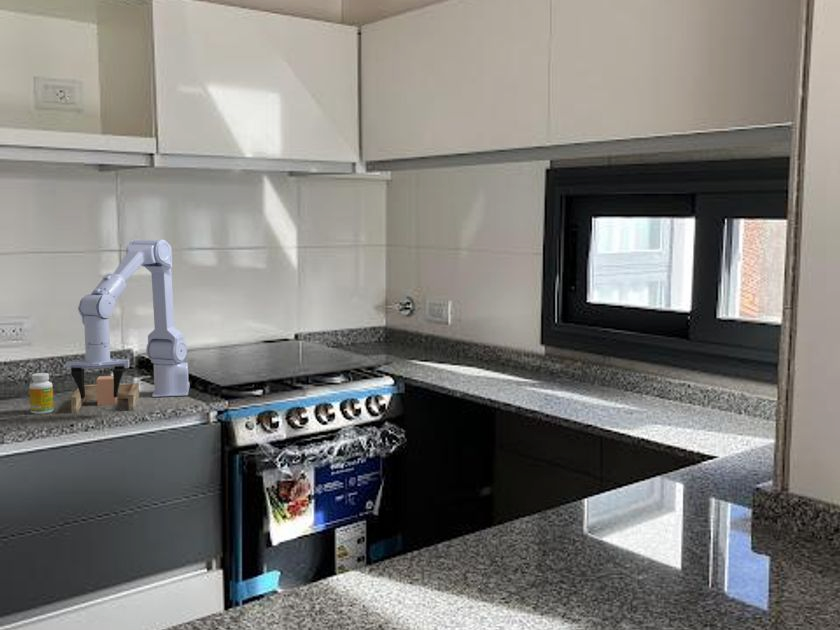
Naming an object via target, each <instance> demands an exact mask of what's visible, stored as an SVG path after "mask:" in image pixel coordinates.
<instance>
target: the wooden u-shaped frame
mask: <svg viewBox="0 0 840 630" xmlns="http://www.w3.org/2000/svg"><path fill="white" fill-rule="evenodd" d="M84 387H85V398H84V399H81V396H80V392H79V389H78V388H77V389H76V390H75V391H74V392H73V394H72V395H71V396H70V405H71V410H70V411H71V413H72V414H75V413H76V414H77V413H78V411H79V410H80V408H81V407H82V406H83V404H85V402H86V401H97V384H84ZM139 387H140V384H139V383H138V382H133V383H131V382H129V383H120V384H119V388H118V396H117V400H128V401H127V402H128V411H135V409H136V405H137V403H138V402H139V401H138V400H139V398H140V392H139V391H140V389H139ZM85 400H86V401H85ZM84 401H85V402H84Z"/></svg>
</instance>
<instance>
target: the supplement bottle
mask: <svg viewBox="0 0 840 630" xmlns="http://www.w3.org/2000/svg"><path fill="white" fill-rule="evenodd" d="M49 380H50V374H49V373H48V372H38V373H37V372H36V373H32V374H31V381H32V382H31V383H30V384H29V389H28V390H29V406H30V408H29V409H30V413H31V414H33V413H34V414H36V415H41V414H49V413H52V412H54V387H53V383H52V382H51V381H49Z"/></svg>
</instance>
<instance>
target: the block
mask: <svg viewBox="0 0 840 630" xmlns="http://www.w3.org/2000/svg"><path fill="white" fill-rule="evenodd" d="M96 385H97V400H96V401H97V403H96V404H97V406H98V405H101V406H116V405H117V403H118V399H117V397H114V379H113V375H103V376H102V375H101V376H98V377H97V378H96Z"/></svg>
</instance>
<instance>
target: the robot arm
mask: <svg viewBox="0 0 840 630" xmlns="http://www.w3.org/2000/svg"><path fill="white" fill-rule="evenodd" d="M172 251H173V250H172V246H171V245H170V244H169V243H168V242H167V240H165V239H137V238H135V239H132V240H130V242H129V244H128V245H127V246H126V247H125V252H126V253H125V256H124V257H123V258H122V260H121V261H120V263H119V264H118V266H117V268H116V269H115V271H114V272H113V273H107V274H105V275H104V276H103V277H102V280H101V281H100V282H99V284H98V285H97V286H95V288H94V289H93V291H92V292H91V293H90V294H85V295H84V296H83V297H82V298H81V299H80V301H79V305H78V306H77V311H78V313H79V315H80V317H81V323H82V324H83V325H84V349H85V350H84V351H85V359H81V360H79V359H76V360H67V361H66V364H65V365H66V366H65V367H66V370H67V371H70V375H71V377H72V378H73V380H74V381H75V384H76V386H77V389H79V392H80V396H81V399H84V398H85V387H84V385H85V370H88V369H89V370H90V369H112V376H113V379H114V397H117V396H118V388H119V384H121V380H122V377H123V375H124V372H125V370H126V369H129V367H130V359H129V358H124V359H122V358H111V347H110V346H111V343H110V317H111V316H112V315H113V314H114V311H115V306H116V303H117V300H118V299H119V298H120V296H121V295H122V294H123V292H124V291H125V290H126V287H127V285H126V281H128V279H129V278H130V277H131V276H132V275H133V274H134V273H135V272H136V271H137V270H138V269H139V268H140V267H144V268H146V270H147V271H149V272H150V274H151V287H152V304H153V305H152V306H153V318H154V319H153V320H154V321H153V322H154V324H153V325H154V329H153V330H152V331H151V332H150V333H149V334H148V335H147V345H146V349H145V351H146V352H145V353H146V355H147V358H148V359H149V360H150V363H152V364H153V382H154V383H153V384H154V385H153V387H154V390H153V392H152V394H151V396H152V398H155V397H156V398H159V397H180V396H182V397H183V396H184V397H186V396H189V391H190V381H189V364H188V363H189V362H184V360H185V358H186V356H187V354H188V353H187V352H188V348H187V344H186V341H185V335H184V333H182V331H180V330H179V329H178V328H176V327H175V313H174V310H175V309H174V293H173V275H172V268H173V255H172V254H173V253H172Z"/></svg>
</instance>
